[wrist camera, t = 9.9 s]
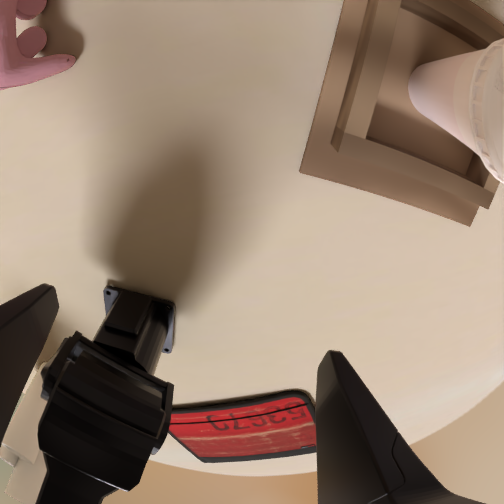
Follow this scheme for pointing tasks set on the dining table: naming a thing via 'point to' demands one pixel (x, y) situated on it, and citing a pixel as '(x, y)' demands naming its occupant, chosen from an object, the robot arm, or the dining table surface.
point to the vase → (25, 445)
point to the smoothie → (466, 100)
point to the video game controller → (25, 46)
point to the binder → (248, 428)
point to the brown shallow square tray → (398, 106)
